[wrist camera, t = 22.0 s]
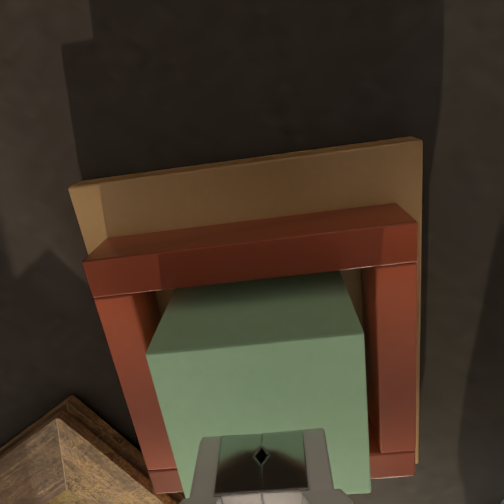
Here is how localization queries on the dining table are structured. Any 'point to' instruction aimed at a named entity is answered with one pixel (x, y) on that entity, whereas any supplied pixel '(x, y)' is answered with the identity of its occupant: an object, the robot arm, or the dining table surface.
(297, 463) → the robot arm
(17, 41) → the dining table surface
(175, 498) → the picture frame
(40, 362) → the dining table surface
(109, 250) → the wooden framed tray
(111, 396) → the dining table surface
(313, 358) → the green block
